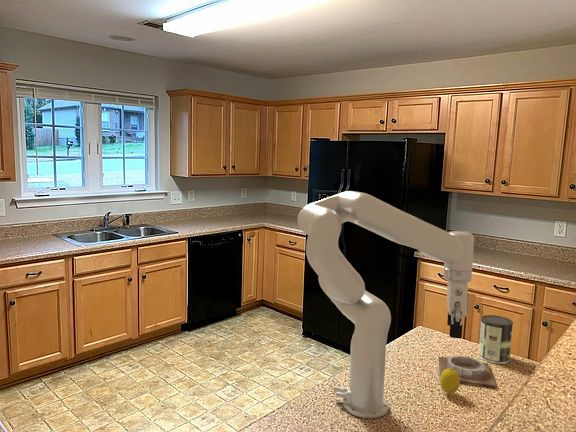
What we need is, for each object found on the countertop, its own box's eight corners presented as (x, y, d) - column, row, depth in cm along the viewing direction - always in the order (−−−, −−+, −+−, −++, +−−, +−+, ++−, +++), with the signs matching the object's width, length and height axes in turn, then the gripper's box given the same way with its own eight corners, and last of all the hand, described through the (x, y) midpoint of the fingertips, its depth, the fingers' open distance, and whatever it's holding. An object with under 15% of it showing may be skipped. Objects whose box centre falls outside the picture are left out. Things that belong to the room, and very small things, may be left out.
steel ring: (448, 375, 142) (449, 367, 142) (446, 360, 153) (447, 353, 152) (485, 380, 139) (486, 372, 139) (481, 365, 150) (481, 358, 149)
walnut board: (440, 380, 140) (440, 377, 140) (438, 359, 156) (438, 356, 156) (495, 388, 136) (495, 385, 136) (487, 366, 151) (488, 363, 151)
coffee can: (504, 353, 162) (507, 315, 161) (513, 365, 152) (517, 326, 151) (474, 350, 164) (477, 313, 162) (482, 362, 154) (485, 323, 152)
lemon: (460, 399, 129) (462, 373, 128) (440, 397, 130) (442, 371, 129) (457, 390, 134) (459, 365, 133) (438, 388, 136) (439, 363, 135)
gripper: (475, 283, 119) (471, 344, 121) (468, 268, 135) (464, 322, 137) (445, 280, 121) (442, 341, 123) (442, 266, 137) (439, 320, 139)
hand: (454, 331), depth 130 cm, fingers open, 9 cm apart
